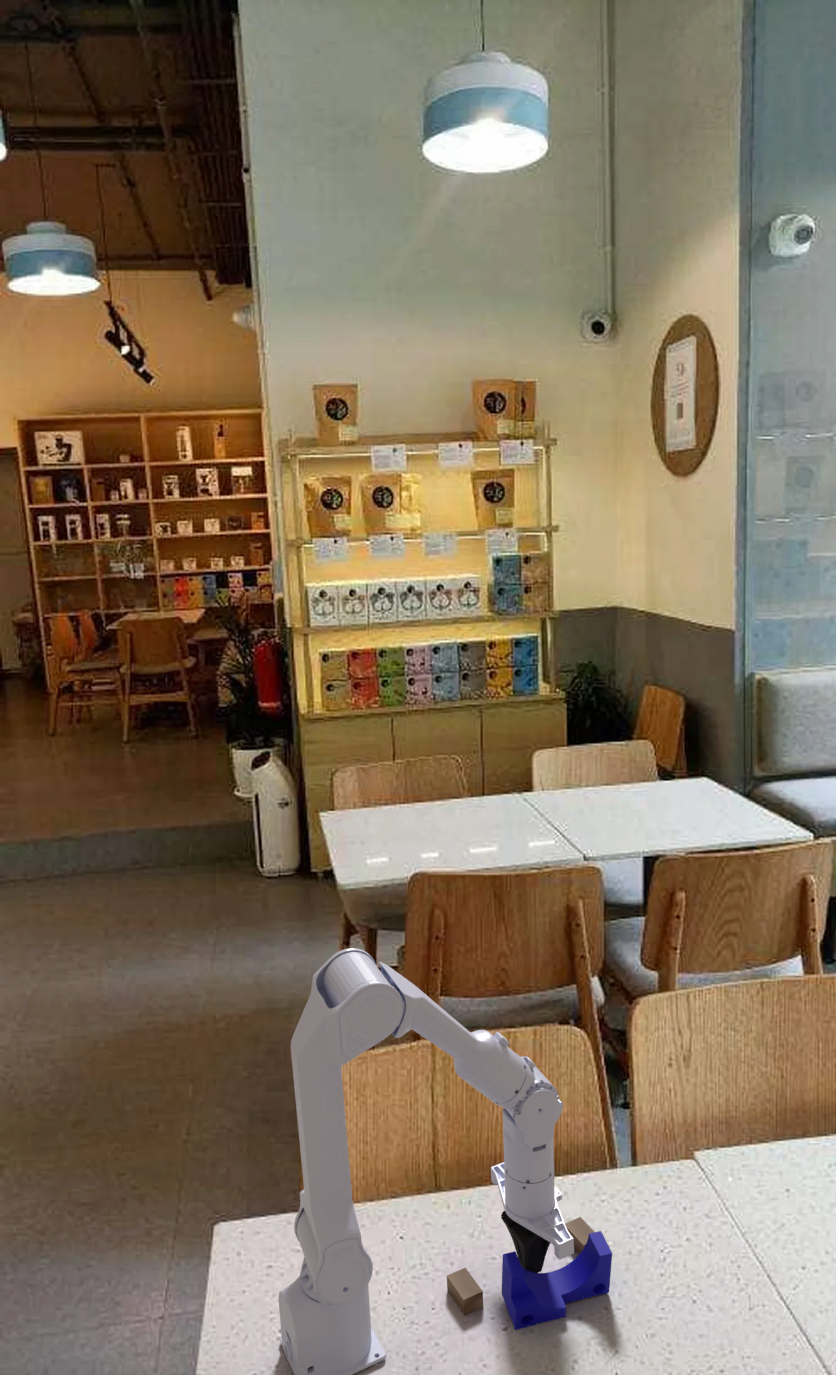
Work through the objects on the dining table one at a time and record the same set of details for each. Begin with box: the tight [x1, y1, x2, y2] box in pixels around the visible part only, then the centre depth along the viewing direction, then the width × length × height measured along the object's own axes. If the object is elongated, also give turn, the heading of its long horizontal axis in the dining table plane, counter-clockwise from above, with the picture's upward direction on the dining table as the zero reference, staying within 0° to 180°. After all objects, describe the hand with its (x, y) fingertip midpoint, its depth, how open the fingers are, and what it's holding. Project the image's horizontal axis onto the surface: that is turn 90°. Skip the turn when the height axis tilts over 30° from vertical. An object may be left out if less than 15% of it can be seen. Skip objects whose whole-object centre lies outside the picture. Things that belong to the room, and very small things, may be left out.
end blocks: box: [446, 1216, 595, 1316], centre depth 113 cm, size 19×4×2 cm, turn 117°
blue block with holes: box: [501, 1230, 613, 1331], centre depth 107 cm, size 12×4×6 cm, turn 104°
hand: (531, 1270), depth 111 cm, fingers closed
